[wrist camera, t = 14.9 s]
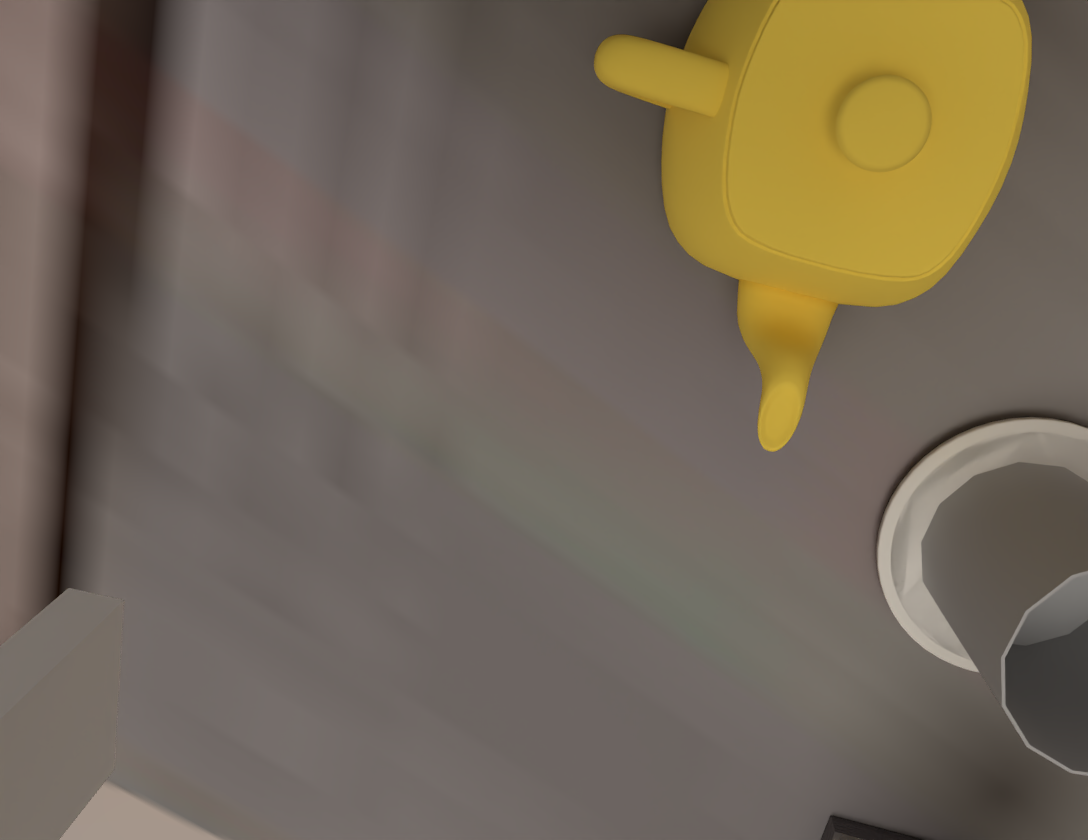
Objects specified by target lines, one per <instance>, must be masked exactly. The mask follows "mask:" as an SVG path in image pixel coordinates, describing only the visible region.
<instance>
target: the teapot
mask: <svg viewBox="0 0 1088 840" xmlns="http://www.w3.org/2000/svg"><path fill="white" fill-rule="evenodd" d="M1031 57H1032V35H1031V29H1030V22H1029V16H1028V14H1027V11H1026V9H1025V6H1024V4H1023V1H1022V0H708V1H707V3H706V4H705V6H704V8H703V10H702V11H701V13H700V15H699V17H698V19H697V21H696V23H695V25H694V27H693V29H692V31H691V33H690V35H689V37H688V40H687V42H686V45H685V47H684V50H682V49H679V48H675V47H672V46H669V45H665V44H662V43H658V42H655V41H651V40H648V39H644V38H640V37H636V36H631V35H625V34H620V35H613V36H610V37H608V38H607V39H605V40H604V41H603V42H602V43H601V44H600V45H599V47H598V49H597V51H596V54H595V59H594V68H595V72H596V75H597V77H598V78H599V79H600V81H601V82H602V83H604V84H605V85H606V86H608V87H609V88H612V89H614V90H616V91H619V92H621V93H624V94H627V95H630V96H632V97H635V98H638V99H641V100H644V101H647V102H650V103H652V104H655V105H658V106H661V107H664V108H666V113H665V121H664V129H663V137H662V158H661V167H662V191H663V199H664V208H665V212H666V215H667V219H668V223H669V226H670V229H671V230H672V232H673V234H674V236H675V238H676V239H677V241H678V243H679V244H680V245H681V246H682V247H683V248H684V250H685V251H686V252H687V253H688V254H689V255H690V256H692V257H693V258H694V259H696V260H697V261H699V262H700V263H701V264H703V265H705V266H707V267H709V268H712V269H714V270H716V271H719V272H721V273H723V274H726V275H728V276H730V277H733V278H735V279H738V280H739V286H738V302H737V317H738V325H739V328H740V331H741V334H742V337H743V340H744V341H745V343H746V345H747V347H748V348H749V350H750V351H751V353H752V354H753V356H754V358H755V359H756V361H757V363H758V365H759V368H760V371H761V375H762V395H761V401H760V407H759V415H758V436H759V440H760V443H761V445H762V446H763V448H764V449H766V450H768V451H777V450H779V449H781V448H782V447H783V446H784V445H785V444H786V443H787V442H788V441H789V439H790V438H791V436H792V435H793V433H794V431H795V429H796V427H797V425H798V423H799V420H800V418H801V415H802V411H803V407H804V403H805V398H806V393H807V388H808V383H809V379H810V375H811V371H812V368H813V365H814V362H815V360H816V358H817V355H818V353H819V351H820V348H821V346H822V343H823V341H824V338H825V336H826V333H827V330H828V327H829V325H830V322H831V319H832V317H833V315H834V313H835V310H836V308H837V306H838V304H845V305H856V306H868V307H880V306H888V305H896V304H899V303H902V302H905V301H908V300H910V299H913V298H915V297H917V296H919V295H920V294H922V293H924V292H925V291H927V290H929V289H930V288H931V287H933V286H934V285H935V284H936V283H937V282H938V281H939V280H940V279H941V278H942V277H944V276H945V275H946V273H947V272H948V271H949V270H950V268H951V267H952V266H953V265H954V263H955V262H956V261H957V260H958V258H959V257H960V256H961V255H962V253H963V252H964V250H965V249H966V247H967V246H968V244H969V243H970V241H971V240H972V238H973V237H974V235H975V234H976V232H977V230H978V229H979V227H980V226H981V224H982V222H983V221H984V219H985V217H986V216H987V214H988V212H989V211H990V209H991V207H992V205H993V203H994V201H995V199H996V197H997V195H998V193H999V191H1000V189H1001V187H1002V185H1003V182H1004V180H1005V177H1006V175H1007V173H1008V170H1009V168H1010V165H1011V163H1012V159H1013V156H1014V153H1015V150H1016V147H1017V144H1018V141H1019V136H1020V132H1021V128H1022V123H1023V119H1024V113H1025V107H1026V101H1027V94H1028V87H1029V79H1030V70H1031Z"/></svg>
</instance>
